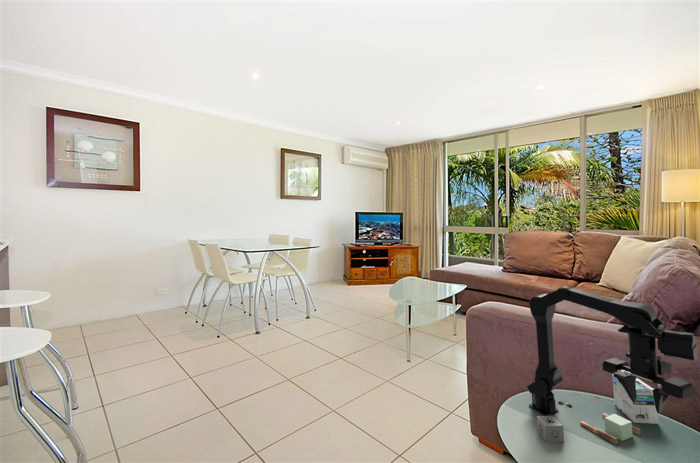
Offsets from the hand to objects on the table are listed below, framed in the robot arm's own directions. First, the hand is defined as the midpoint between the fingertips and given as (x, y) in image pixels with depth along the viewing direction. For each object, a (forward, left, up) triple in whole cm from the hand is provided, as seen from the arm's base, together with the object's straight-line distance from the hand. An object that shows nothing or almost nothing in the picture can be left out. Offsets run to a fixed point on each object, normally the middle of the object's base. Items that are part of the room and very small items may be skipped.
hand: (646, 406), depth 88 cm
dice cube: (-15, -19, -12) cm, 27 cm away
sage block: (-8, 0, -12) cm, 14 cm away
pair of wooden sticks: (-10, 0, -12) cm, 16 cm away
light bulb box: (-12, +15, -12) cm, 23 cm away
